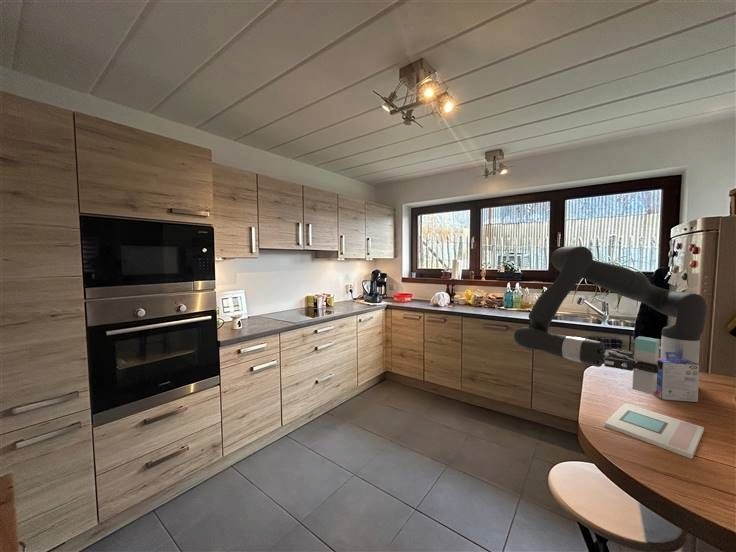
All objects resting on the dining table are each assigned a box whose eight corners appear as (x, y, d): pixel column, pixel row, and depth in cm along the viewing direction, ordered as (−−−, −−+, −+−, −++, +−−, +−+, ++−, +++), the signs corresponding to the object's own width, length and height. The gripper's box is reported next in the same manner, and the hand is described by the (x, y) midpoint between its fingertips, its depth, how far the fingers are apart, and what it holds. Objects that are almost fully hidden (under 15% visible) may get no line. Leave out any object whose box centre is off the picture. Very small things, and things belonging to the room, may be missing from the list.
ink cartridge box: (684, 394, 97) (686, 351, 96) (699, 402, 91) (702, 357, 90) (649, 392, 99) (651, 350, 98) (662, 400, 93) (664, 355, 92)
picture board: (624, 406, 89) (624, 402, 89) (703, 431, 76) (704, 427, 76) (604, 426, 79) (604, 422, 79) (692, 458, 66) (692, 454, 66)
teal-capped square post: (636, 385, 81) (639, 336, 81) (656, 390, 78) (659, 339, 77) (632, 389, 79) (635, 338, 78) (652, 394, 76) (655, 341, 75)
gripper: (574, 342, 86) (655, 359, 72) (592, 335, 94) (667, 348, 80) (573, 367, 86) (653, 388, 72) (591, 357, 94) (666, 375, 80)
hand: (660, 367), depth 76 cm, fingers closed on teal-capped square post, 4 cm apart
